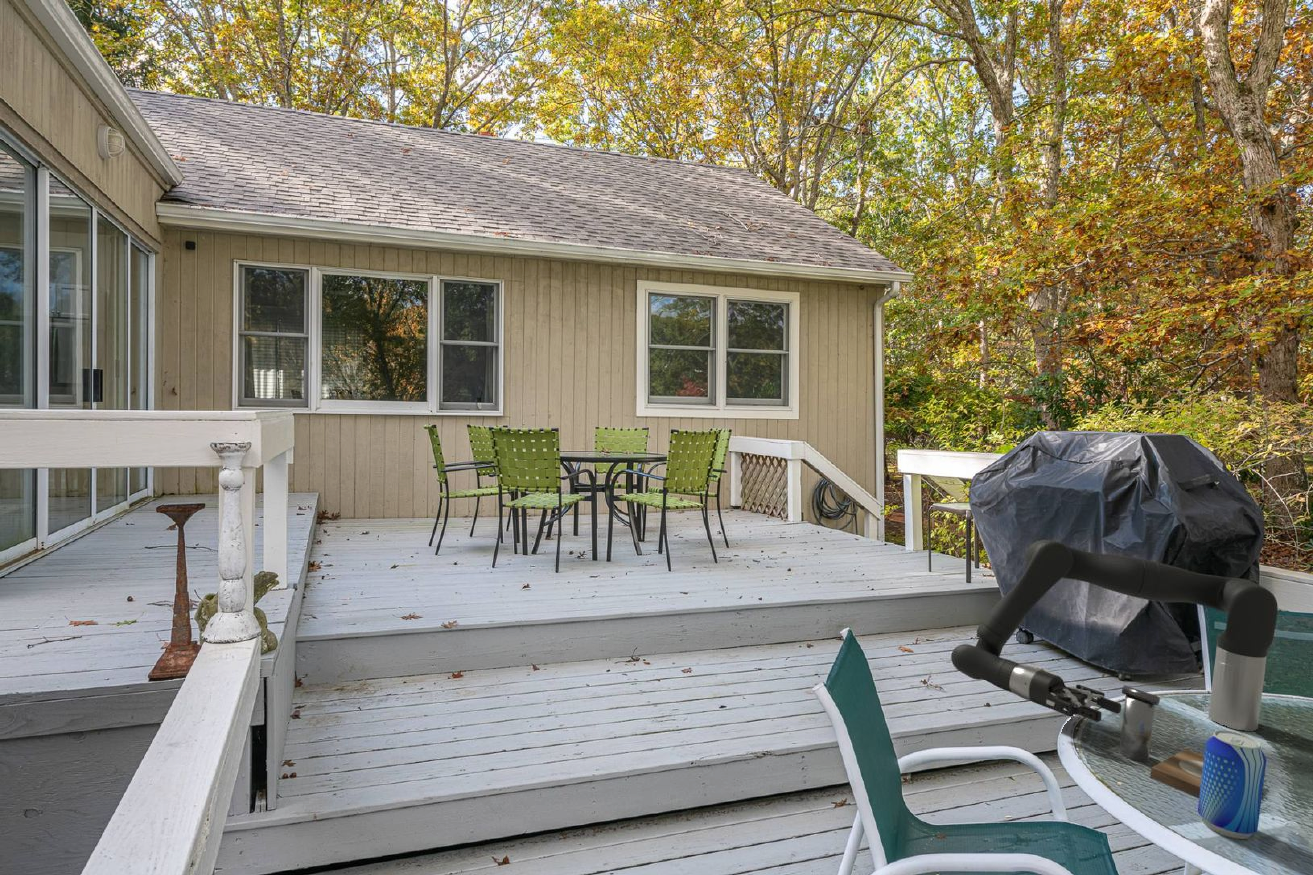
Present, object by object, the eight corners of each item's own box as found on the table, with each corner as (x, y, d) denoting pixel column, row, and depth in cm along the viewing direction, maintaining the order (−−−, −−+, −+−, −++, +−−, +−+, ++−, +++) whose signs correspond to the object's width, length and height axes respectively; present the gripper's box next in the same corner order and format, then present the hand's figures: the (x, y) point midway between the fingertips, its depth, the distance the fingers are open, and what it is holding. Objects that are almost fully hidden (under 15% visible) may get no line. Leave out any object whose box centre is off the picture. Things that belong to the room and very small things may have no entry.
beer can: (1185, 813, 138) (1195, 726, 136) (1228, 813, 138) (1239, 727, 137) (1223, 841, 129) (1234, 750, 128) (1269, 841, 130) (1281, 750, 129)
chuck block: (1185, 757, 159) (1186, 747, 159) (1254, 784, 150) (1256, 774, 149) (1150, 777, 150) (1151, 766, 150) (1222, 807, 140) (1223, 795, 140)
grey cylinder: (1123, 746, 163) (1130, 682, 162) (1156, 759, 158) (1163, 694, 157) (1111, 751, 160) (1118, 687, 159) (1144, 765, 155) (1152, 699, 154)
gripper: (1020, 675, 172) (1095, 702, 159) (1054, 664, 180) (1128, 689, 167) (1017, 707, 172) (1092, 737, 159) (1051, 695, 181) (1124, 723, 167)
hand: (1110, 713), depth 163 cm, fingers open, 8 cm apart
